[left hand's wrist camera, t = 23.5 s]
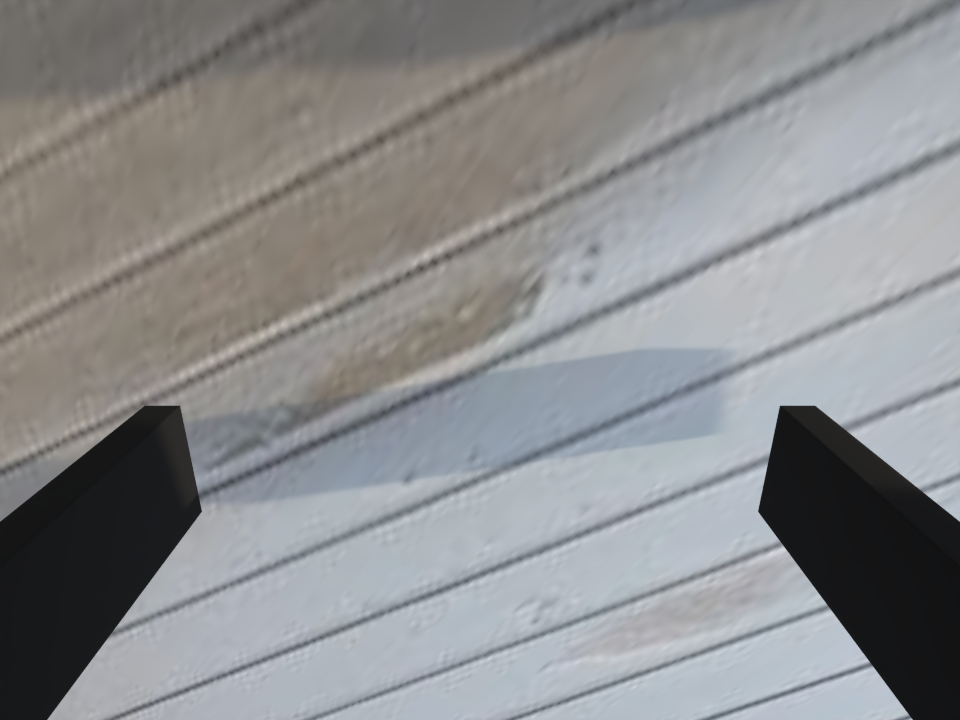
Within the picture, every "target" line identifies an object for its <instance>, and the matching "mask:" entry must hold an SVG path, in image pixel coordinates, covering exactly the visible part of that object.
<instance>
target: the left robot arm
mask: <svg viewBox="0 0 960 720" xmlns="http://www.w3.org/2000/svg"><path fill="white" fill-rule="evenodd" d="M201 512H202V510H201V505H200V500H199V496H198V491H197V486H196V481H195V476H194V471H193V467H192V462H191V457H190V452H189V447H188V442H187V438H186V433H185V428H184V423H183V418H182V413H181V409H180V406H144V407H143V408H142V409H140V410H139V411H138V412H137V413H135V414H134V415H133V416H132V417H130V418H129V419H128V420H127V421H125V422H124V423H123V424H122V425H120V426H119V427H118V428H117V429H115V430H114V431H113V432H112V433H110V434H109V435H108V436H107V437H105V438H104V439H103V440H102V441H100V442H99V443H98V444H97V445H95V446H94V447H93V448H92V449H90V450H89V451H88V452H87V453H85V454H84V455H83V456H82V457H80V458H79V459H78V460H77V461H76V462H74V463H73V464H72V465H71V466H69V467H68V468H67V469H66V470H64V471H63V472H62V473H61V474H59V475H58V476H57V477H56V478H54V479H53V480H52V481H51V482H49V483H48V484H47V485H46V486H44V487H43V488H42V489H41V490H39V491H38V492H37V493H36V494H34V495H33V496H32V497H31V498H29V499H28V500H27V501H26V502H24V503H23V504H22V505H21V506H19V507H18V508H17V509H16V510H14V511H13V512H12V513H11V514H9V515H8V516H7V517H6V518H4V519H3V520H2V521H1V522H0V720H47V719H48V718H49V717H50V715H51V714H52V712H53V711H54V710H55V708H56V707H57V706H58V704H59V703H60V702H61V700H62V699H63V698H64V696H65V695H66V694H67V692H68V691H69V690H70V688H71V687H72V686H73V684H74V683H75V682H76V680H77V679H78V677H79V676H80V675H81V673H82V672H83V671H84V669H85V668H86V667H87V665H88V664H89V663H90V661H91V660H92V659H93V657H94V656H95V655H96V653H97V652H98V651H99V649H100V648H101V647H102V645H103V644H104V642H105V641H106V640H107V638H108V637H109V636H110V634H111V633H112V632H113V630H114V629H115V628H116V626H117V625H118V624H119V622H120V621H121V620H122V618H123V617H124V616H125V614H126V613H127V612H128V610H129V609H130V607H131V606H132V605H133V603H134V602H135V601H136V599H137V598H138V597H139V595H140V594H141V593H142V591H143V590H144V589H145V587H146V586H147V585H148V583H149V582H150V581H151V579H152V578H153V577H154V575H155V574H156V573H157V571H158V570H159V568H160V567H161V566H162V564H163V563H164V562H165V560H166V559H167V558H168V556H169V555H170V554H171V552H172V551H173V550H174V548H175V547H176V546H177V544H178V543H179V542H180V540H181V539H182V538H183V536H184V535H185V533H186V532H187V531H188V529H189V528H190V527H191V525H192V524H193V523H194V521H195V520H196V519H197V517H198V516H199V515H200V513H201ZM758 512H759V513H760V515H761V516H762V517H763V519H764V520H765V521H766V523H767V524H768V525H769V527H770V528H771V529H772V531H773V532H774V533H775V535H776V536H777V538H778V539H779V540H780V542H781V543H782V544H783V546H784V547H785V548H786V550H787V551H788V552H789V554H790V555H791V556H792V558H793V559H794V560H795V562H796V563H797V564H798V566H799V567H800V568H801V570H802V571H803V573H804V574H805V575H806V577H807V578H808V579H809V581H810V582H811V583H812V585H813V586H814V587H815V589H816V590H817V591H818V593H819V594H820V595H821V597H822V598H823V599H824V601H825V602H826V603H827V605H828V606H829V607H830V609H831V610H832V612H833V613H834V614H835V616H836V617H837V618H838V620H839V621H840V622H841V624H842V625H843V626H844V628H845V629H846V630H847V632H848V633H849V634H850V636H851V637H852V638H853V640H854V641H855V642H856V644H857V645H858V647H859V648H860V649H861V651H862V652H863V653H864V655H865V656H866V657H867V659H868V660H869V661H870V663H871V664H872V665H873V667H874V668H875V669H876V671H877V672H878V673H879V675H880V676H881V677H882V679H883V680H884V682H885V683H886V684H887V686H888V687H889V688H890V690H891V691H892V692H893V694H894V695H895V696H896V698H897V699H898V700H899V702H900V703H901V704H902V706H903V707H904V708H905V710H906V711H907V712H908V714H909V715H910V717H911V718H912V719H913V720H960V522H959V521H958V520H957V519H956V518H954V517H953V516H952V515H951V514H949V513H948V512H947V511H946V510H944V509H943V508H942V507H941V506H939V505H938V504H937V503H936V502H934V501H933V500H932V499H931V498H929V497H928V496H927V495H926V494H924V493H923V492H922V491H921V490H919V489H918V488H917V487H916V486H914V485H913V484H912V483H911V482H909V481H908V480H907V479H906V478H904V477H903V476H902V475H901V474H899V473H898V472H897V471H896V470H894V469H893V468H892V467H891V466H889V465H888V464H887V463H886V462H884V461H883V460H882V459H881V458H880V457H878V456H877V455H876V454H875V453H873V452H872V451H871V450H870V449H868V448H867V447H866V446H865V445H863V444H862V443H861V442H860V441H858V440H857V439H856V438H855V437H853V436H852V435H851V434H850V433H848V432H847V431H846V430H845V429H843V428H842V427H841V426H840V425H838V424H837V423H836V422H835V421H833V420H832V419H831V418H830V417H828V416H827V415H826V414H825V413H823V412H822V411H821V410H820V409H818V408H817V407H816V406H780V409H779V413H778V418H777V423H776V428H775V433H774V438H773V442H772V447H771V452H770V457H769V462H768V467H767V471H766V476H765V481H764V486H763V491H762V496H761V500H760V505H759V510H758Z"/></svg>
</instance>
